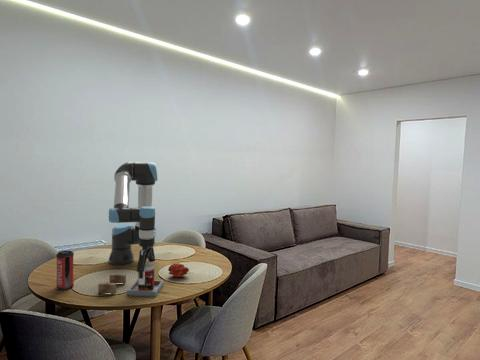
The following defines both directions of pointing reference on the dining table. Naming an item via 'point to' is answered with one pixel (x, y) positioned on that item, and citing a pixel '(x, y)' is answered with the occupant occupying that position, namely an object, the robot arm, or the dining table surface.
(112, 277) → the tan block
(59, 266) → the speaker
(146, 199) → the robot arm
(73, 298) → the dining table surface
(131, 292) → the tray
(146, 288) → the canned food
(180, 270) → the dragon fruit
